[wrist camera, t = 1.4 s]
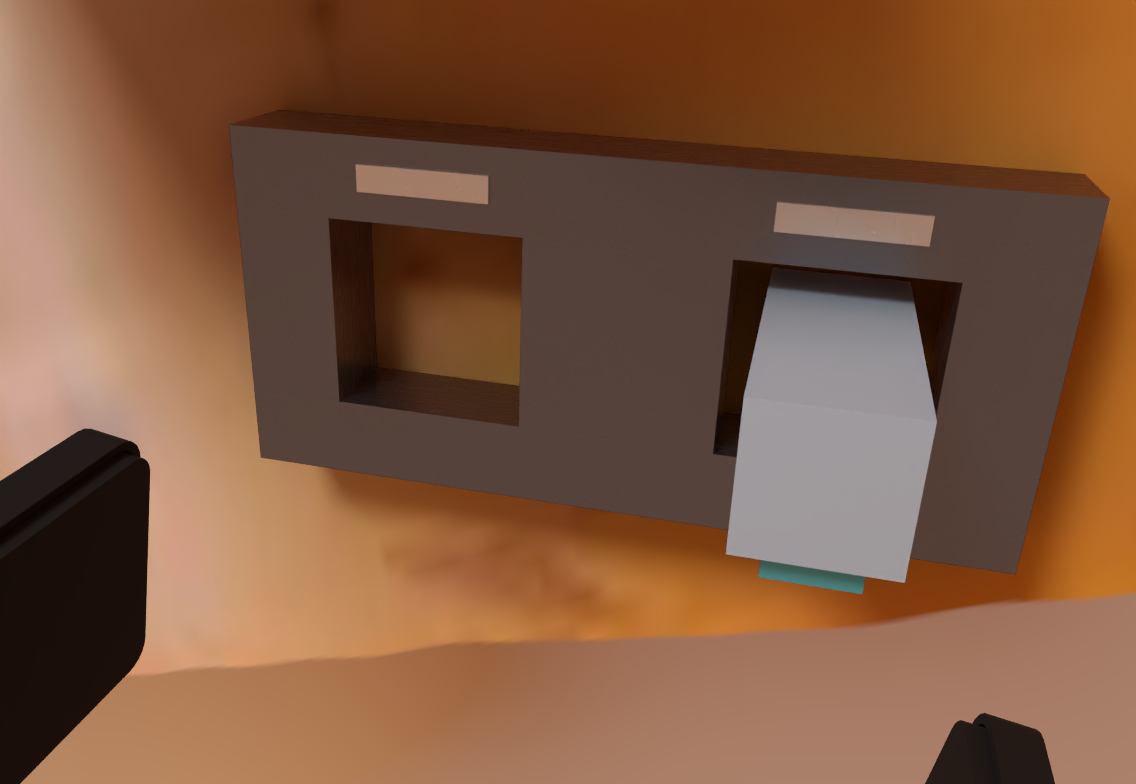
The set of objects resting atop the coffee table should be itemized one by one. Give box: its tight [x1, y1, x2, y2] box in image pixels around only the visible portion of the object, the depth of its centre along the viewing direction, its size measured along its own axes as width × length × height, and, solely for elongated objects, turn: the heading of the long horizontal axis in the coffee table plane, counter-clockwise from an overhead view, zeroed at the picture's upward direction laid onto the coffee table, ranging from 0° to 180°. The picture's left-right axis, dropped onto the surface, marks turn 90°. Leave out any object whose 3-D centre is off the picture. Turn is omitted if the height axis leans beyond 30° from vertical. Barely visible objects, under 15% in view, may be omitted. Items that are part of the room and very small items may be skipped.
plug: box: [726, 267, 937, 594], centre depth 27 cm, size 4×5×10 cm
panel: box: [229, 110, 1110, 575], centre depth 31 cm, size 24×11×3 cm, turn 87°
